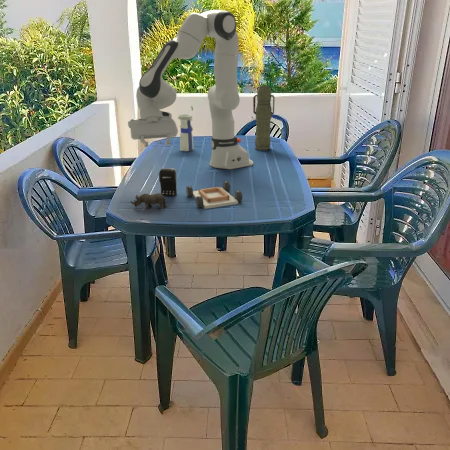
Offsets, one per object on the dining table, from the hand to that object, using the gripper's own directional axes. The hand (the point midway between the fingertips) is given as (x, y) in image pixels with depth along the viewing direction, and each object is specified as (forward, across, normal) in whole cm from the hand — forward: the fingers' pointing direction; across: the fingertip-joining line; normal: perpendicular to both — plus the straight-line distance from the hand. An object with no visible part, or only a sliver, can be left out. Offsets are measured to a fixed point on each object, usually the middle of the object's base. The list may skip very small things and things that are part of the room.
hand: (157, 145), depth 187 cm
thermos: (-18, +72, +42) cm, 85 cm away
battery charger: (+22, +1, +4) cm, 23 cm away
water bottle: (-29, +31, +54) cm, 69 cm away
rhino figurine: (+30, -10, -4) cm, 32 cm away
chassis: (+30, +17, -4) cm, 34 cm away
